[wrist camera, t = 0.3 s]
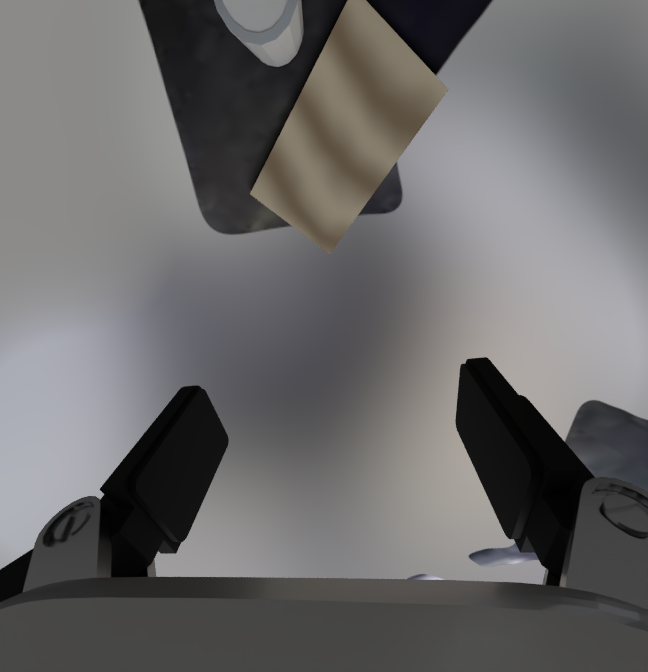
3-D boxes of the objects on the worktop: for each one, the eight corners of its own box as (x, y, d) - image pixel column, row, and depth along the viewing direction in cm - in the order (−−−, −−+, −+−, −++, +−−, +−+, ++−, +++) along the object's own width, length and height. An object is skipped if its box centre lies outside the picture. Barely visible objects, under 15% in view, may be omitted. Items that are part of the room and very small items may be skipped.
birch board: (353, -5, 25) (354, -13, 24) (444, 93, 28) (448, 89, 27) (252, 193, 34) (249, 193, 32) (330, 252, 36) (329, 254, 35)
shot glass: (311, 72, 27) (302, 40, 21) (246, 77, 28) (219, 47, 22) (307, -31, 24) (294, -104, 18) (233, -23, 25) (196, -91, 19)
